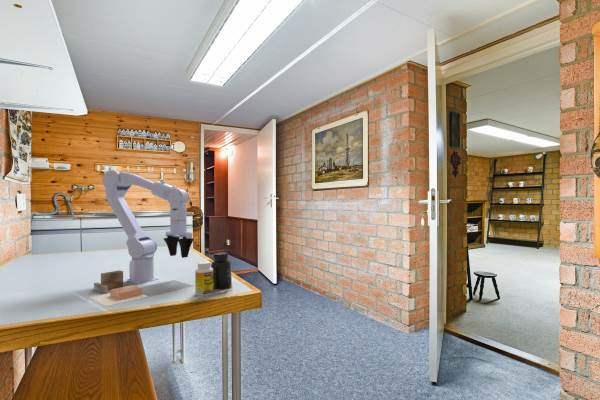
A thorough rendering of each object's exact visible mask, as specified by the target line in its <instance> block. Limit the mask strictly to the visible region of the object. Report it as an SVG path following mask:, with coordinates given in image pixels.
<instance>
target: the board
mask: <svg viewBox="0 0 600 400" xmlns="http://www.w3.org/2000/svg"><path fill="white" fill-rule="evenodd" d="M139 287H140V288H143V295H139V296H134V297H130V298H126V299H121V300H118V299H116V298H114V297H111V296H110V292H109V293H104V294H103V293H102V294H99V295H94V296H90V297H89V298H90V299H91V300H93V301H95V302H97V303H98V304H101V305H102V306H105V307H108V306H113V305H118V304H123V303H126V302H131V301H136V300H138V299H143V298H148V297H152V296H155V295H161V294H164V293H169V292H174V291H178V290H182V289H186V288H191V287H194V285H193V284H190V283H186V282H182V281H179V280H174V279H173V280H166V281H162V282H157V283H153V284H148V285H145V286H139Z"/></svg>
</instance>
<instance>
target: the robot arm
mask: <svg viewBox="0 0 600 400" xmlns="http://www.w3.org/2000/svg"><path fill="white" fill-rule="evenodd" d="M101 183H102V185H103V186H104V189H105V190H104V191H105V198H106V200H107V203H108V204H109V206H110V207H111V209H112V211H113V213H114V214H115V216H116V218H117V220H118V221H119V222H118V223H119V224H120V225H121V227H122V229H123V231H124V232H125V235H126V236H127V240H126V242H125V244H126V246H127V249H128V250H127V252H128V255H130V257H131V260H130V261H129V266H128V267H129V272H128V274H129V278H127V279H126V281H127V282H131V283H135V284H141V283H142V284H143V283H147V282H152V281H156V280H159V278H157V277H155V271H154V268H155V267H154V263H155V262H154V256H155V253H156V252H157V249H158V244H157V241H155V240H154V239H152V238H151V236H150V235H149V234H148V233H147V232H145V231H144V230H143V229H142V227H141V225H140V223H139V222H138V220H137V218H136V217H135V215H134V213H133V211H132V209H131V208H130V206H129V204H128V203H127V201H126V199H125V195H126V194H127V193H128V191H129V189H131V187H132V186H138V187H140V188H143V189H147V190H148V191H149V190H150V192H151V194H152V195H153V196H155V197H158V198H161V199H163V200H165V201H167V202H168V203H169V207H170V208H169V216H170V217H169V218H170V219H169V221H170V223H169V224H170V227H169V228H170V229H169V231H165V237H164V238H163V241H164V242H165V244H166V245H167V249H168V252H169V255H170V257H173V256H177V252H178V244H179V248H180V256H181V258H184V259H185V258H188V257H189V254H190V249H191V247H192V244H193V242H194V239H195V238H194V237H193V232H189V231H187V229H188V228H187V202H188V201H189V198H190V197H189V193H188V191H187V190H185V189H184V188H178V186H176V185H170V184H167V182H166V181H165V180H161V181H160V180H158V181H152V180H149V179H147V178H145V177H143V176H141V175H138V174H135V173H132V172H128V171H118V170H115V169H109V170H107V171H106V172H104V175H103V177H102V180H101Z"/></svg>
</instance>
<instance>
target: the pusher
mask: <svg viewBox="0 0 600 400" xmlns="http://www.w3.org/2000/svg"><path fill="white" fill-rule="evenodd" d="M121 287H124V271H123V270H114V271H108V272H101V273H100V282H98V281H97V282H94V283H93V290H95V291H97V292H100V293H102V295H103V294H108V291H110V290H111V289H116V288H121Z"/></svg>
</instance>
